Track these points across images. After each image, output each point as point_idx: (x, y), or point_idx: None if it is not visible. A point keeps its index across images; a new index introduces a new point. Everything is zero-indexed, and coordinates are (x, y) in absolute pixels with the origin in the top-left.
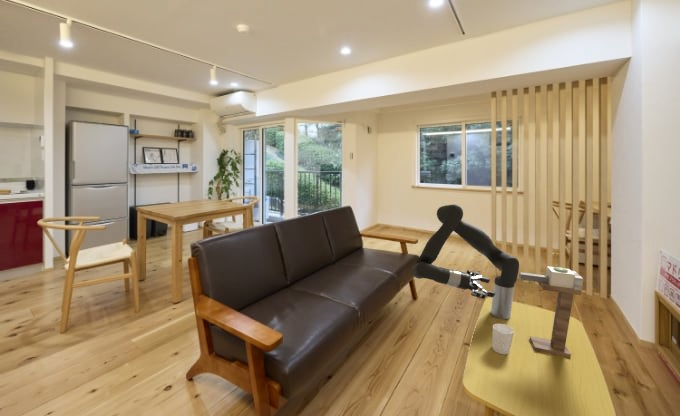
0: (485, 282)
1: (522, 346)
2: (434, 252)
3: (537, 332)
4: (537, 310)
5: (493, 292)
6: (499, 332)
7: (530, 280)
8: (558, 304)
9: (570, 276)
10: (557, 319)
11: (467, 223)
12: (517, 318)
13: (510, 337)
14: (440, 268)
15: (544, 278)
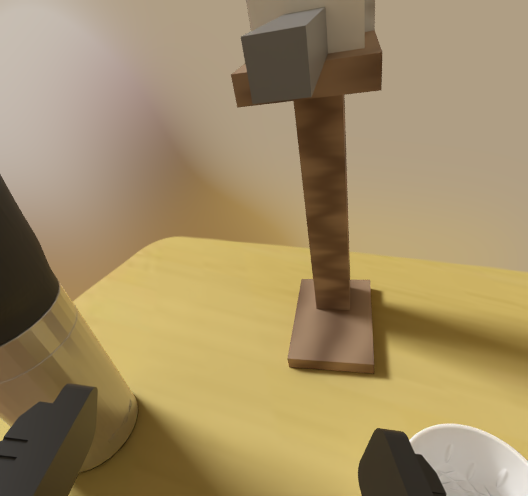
0: (74, 480)
1: (359, 412)
2: None
3: (237, 328)
4: (100, 291)
5: (391, 444)
6: None
7: (319, 70)
8: (323, 160)
9: None
10: (341, 218)
11: None
12: (137, 363)
13: (512, 469)
14: None
15: (324, 19)
